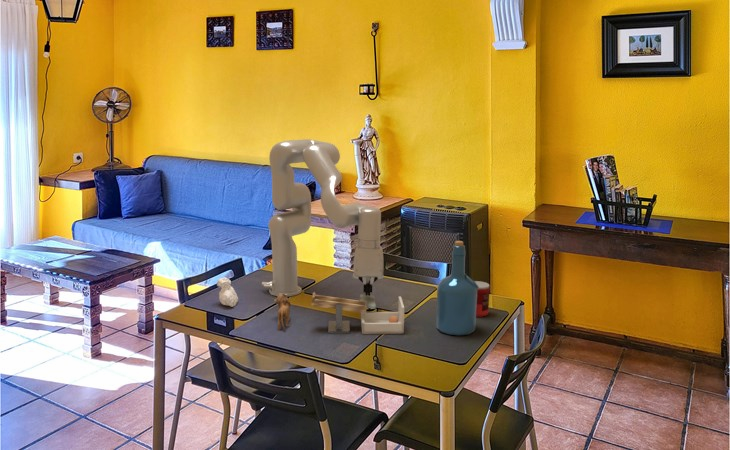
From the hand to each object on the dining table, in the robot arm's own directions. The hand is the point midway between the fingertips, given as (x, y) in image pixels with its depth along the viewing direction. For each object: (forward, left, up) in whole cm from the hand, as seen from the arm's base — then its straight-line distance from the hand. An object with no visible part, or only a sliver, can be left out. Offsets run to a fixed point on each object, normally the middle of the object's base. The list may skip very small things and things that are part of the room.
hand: (367, 294), depth 208 cm
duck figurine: (-51, +15, -9) cm, 54 cm away
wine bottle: (+29, -12, -8) cm, 33 cm away
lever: (-8, -5, -1) cm, 10 cm away
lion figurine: (-29, -5, -9) cm, 31 cm away
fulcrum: (-10, -10, -8) cm, 17 cm away
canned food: (+39, +2, -8) cm, 40 cm away
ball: (+8, -10, -6) cm, 14 cm away
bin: (+4, -10, -8) cm, 14 cm away
